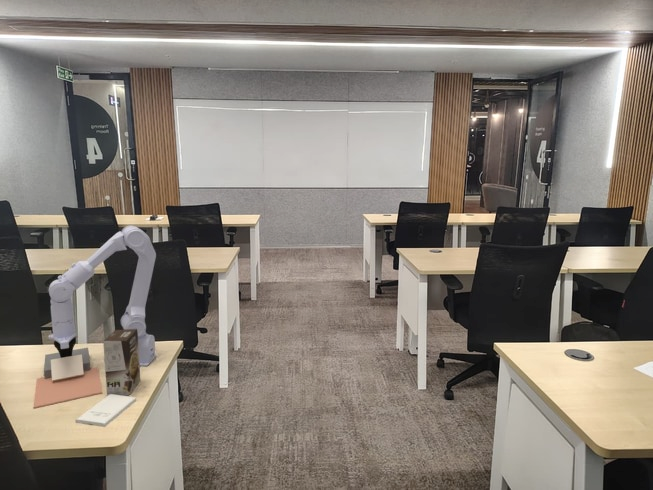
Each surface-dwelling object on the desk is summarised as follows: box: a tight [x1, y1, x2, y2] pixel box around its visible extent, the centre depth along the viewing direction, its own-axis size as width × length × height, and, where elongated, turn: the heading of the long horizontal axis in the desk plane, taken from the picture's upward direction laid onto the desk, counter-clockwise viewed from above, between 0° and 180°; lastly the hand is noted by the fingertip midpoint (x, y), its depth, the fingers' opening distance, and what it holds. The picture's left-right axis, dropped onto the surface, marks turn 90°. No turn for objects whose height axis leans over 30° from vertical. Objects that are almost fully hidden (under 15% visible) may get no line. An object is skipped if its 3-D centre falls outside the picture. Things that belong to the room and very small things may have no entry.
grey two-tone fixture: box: [43, 347, 92, 379], centre depth 137 cm, size 13×12×3 cm
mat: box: [32, 366, 103, 409], centre depth 125 cm, size 18×16×1 cm
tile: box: [51, 354, 84, 382], centre depth 129 cm, size 6×8×2 cm
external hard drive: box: [75, 394, 137, 428], centre depth 113 cm, size 2×8×12 cm
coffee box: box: [102, 329, 141, 397], centre depth 123 cm, size 9×6×16 cm
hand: (66, 362), depth 131 cm, fingers closed, pressing on tile
